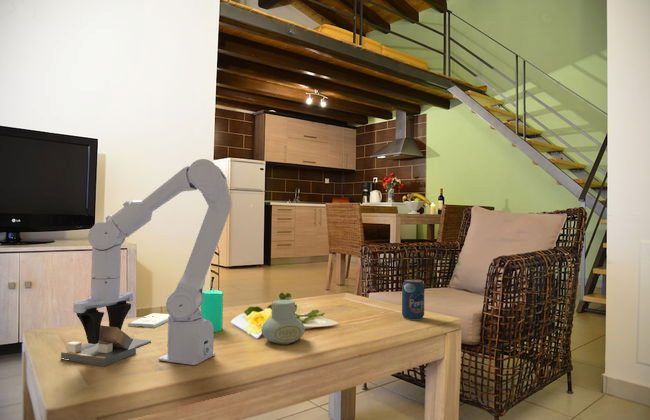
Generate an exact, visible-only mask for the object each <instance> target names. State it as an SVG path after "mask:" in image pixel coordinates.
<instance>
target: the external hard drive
mask: <svg viewBox="0 0 650 420" xmlns="http://www.w3.org/2000/svg"><path fill="white" fill-rule="evenodd" d="M152 316H154V317H152ZM168 316H169V314H168V313H157V312H156V313H154V312H152V313H150V314H147V315H144V317H146V318H142V317H140V318H138V319H135V320H132V321H131V322H128V323H127V327H131V328H134V327H135V328H149V329H151V328H152V329H156V328H157V327H159V326H161V325H164V324H165V323H168Z"/></svg>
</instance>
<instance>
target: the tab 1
mask: <svg viewBox="0 0 650 420" xmlns="http://www.w3.org/2000/svg"><path fill="white" fill-rule="evenodd" d="M81 346H83V345H82V342H80V341H76V340H75V341H70V342H67V343H66V351H67V352H73V353H76V352H79V351H81Z"/></svg>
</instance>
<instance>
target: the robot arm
mask: <svg viewBox="0 0 650 420" xmlns="http://www.w3.org/2000/svg"><path fill="white" fill-rule="evenodd" d="M197 190H198V191H199V192H200V193H201V195H202V196H203V198H204V200H205V202H206V205H208V206H207V210H206V213H205V216H204V218H203V221H202V223H201V226H200V229H199V232H198V234H197V237H196V239H195V242H194V246H193V248H192V250H191V253H190V256H189V257H188V258H189V259H188V261H187V264H186V266H185V269H184V271H183V274H182V276H181V278H180V279H179V282H178V283H177V286H176V288H175V289H174V291H173V292H172V293H171V294H170V295H168V298H167V300H166V302H165V308H166V312H167V314H169V316H168V322H167V353H166V354H164V355H162V356H160V357H158V361H162V362H169V363H175V364H181V365H182V364H183V365H189V366H196V365H198V364H200V363H202V362H204V361H205V360H208V359H210V358H212V357H213V356H215V355H216V352H214V333H215V332H214V328H213V324H212V322H211V321H209V320H206V319H204V318H203V317H202V313H201V311H200V310H201V309H200V308H201V304H202V302H203V292H204V291H203V290H204V286H205V282H206V277H207V275H208V272H209V269H210V266H211V263H212V261H213V258H214V256H215V253H216V250H217V247H218V245H219V242H220V240H221V237H222V234H223V230H224V228H225V226H226V223H227V221H228V218H229V215H230V213H231V209H232V206H233V202H232V198H231V194H230V193H231V192H230V189H229V185H228V180H227V177H226V176H225V174H224V173H223V171H222V169H221V168H220V167H219V166H218V165H216V164H215V163H214V162H213V161H211V160H210V159H205V158H200V159H197V160H194V161H193V162H192V163H191V164H190V165H187V166H185V167H183V168H181V170H179V171H178V172H177V173H175V174H174V175H173V176H171V178H169V179H168V180H167V181H165V182H164V183H163V184H161V185H160V186H159V187H158V188H156V189H155V190H153V191H152V193H150V194H149V195H148V196H147V197H145V198H144V199H143V200H139V199H137V200H136V199H134V200H131V201H129V200H126V201H125V202H124V203H123V204H122V205H123V207H122V208H121V209H119V210H117V211H116V212H115V213H114V214H112V215H107V216H106V217H105V221H103V222H101V221H100V222H96V223H95V224H93V226H92V227H91V228H90V229H89V231H88V234H87V240H88V242H89V244H90V246H91V247H92V249H91V254H92V255H91V270H90V271H91V273H90V274H91V275H90V296H88V298H86V299H83V300H80V301H76V302H74V303H73V307H72V308H73V309H72V311H73V314H74V313H75V314H76V316H77V318H78V319H79V321H80V323H81V325H82V327H83V330H84V332H85V333H84V334H85V336H86V339H87V344H89V343H90V344H98V341H99V332H100V325H101V323H102V321H103V317H104V315H105V312H104V311H99V310H98V309H102V308H105V309H106V312H107V317H108V326H110V327H118V328H119V329H120V330H122V328H123V325H124V322H125V319H126V317H127V316H128V314H129V312H130V310H131V309H132V303H130V302H133V301H134V292H130V291H129V292H128V291H125V292H121V266H122V265H121V261H122V260H121V259H122V256H121V253H122V250H121V249H122V248H121V247H122V246H123V244H124V243H125V241H126V238H130V236H131V235H133V234H134V233H136V232H137V231H138V230H140V229H141V228H143V227H144V226H145V225H146V224H148V223H149V222H150V221H151V220H152V216H153V212H155V210H157V209H159V208H160V207H162V206H163V205H165V204H167V203H168V202H169V201H171V200H172V199H173V198H175V197H176V196H178V195H180V194H181V193H183V192H191V191H197Z"/></svg>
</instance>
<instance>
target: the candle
mask: <svg viewBox="0 0 650 420" xmlns="http://www.w3.org/2000/svg"><path fill="white" fill-rule="evenodd" d="M223 307H224V291H221V290H218V289H211V290H209V289H208V290H205V291H203V302H202V304H201V305H200V309H199V310H200V311H201V313H202V317H203V318H204V319H206V320H209V321H211V322H212V324H213V328H214V333H216V332H217V333H218V332H220V331H222V330H223V320H224V317H223V316H224V315H223V313H224V312H223V311H224V308H223Z"/></svg>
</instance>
